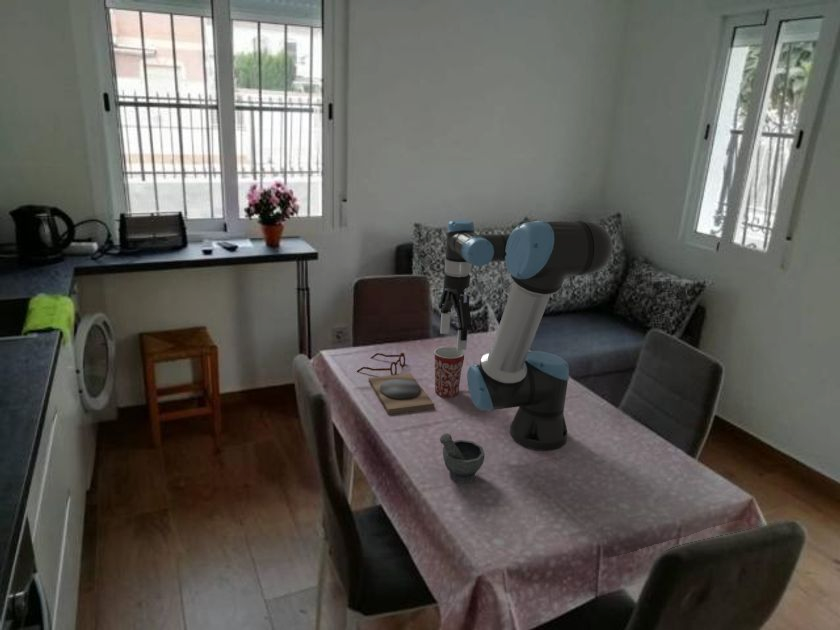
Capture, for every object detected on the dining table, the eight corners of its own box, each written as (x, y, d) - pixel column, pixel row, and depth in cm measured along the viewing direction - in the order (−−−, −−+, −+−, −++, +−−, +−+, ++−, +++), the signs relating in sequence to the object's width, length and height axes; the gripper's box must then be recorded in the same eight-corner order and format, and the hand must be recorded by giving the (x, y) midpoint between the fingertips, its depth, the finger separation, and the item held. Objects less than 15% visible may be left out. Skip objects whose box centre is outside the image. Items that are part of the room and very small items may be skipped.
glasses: (392, 379, 195) (393, 365, 193) (355, 373, 198) (355, 359, 197) (406, 364, 207) (406, 351, 205) (370, 358, 210) (370, 345, 209)
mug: (450, 401, 181) (453, 360, 176) (426, 392, 186) (428, 352, 181) (473, 388, 190) (476, 348, 186) (449, 380, 195) (452, 341, 191)
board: (433, 408, 176) (434, 400, 175) (387, 414, 172) (387, 406, 171) (410, 377, 196) (410, 370, 195) (368, 381, 191) (368, 374, 190)
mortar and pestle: (470, 461, 150) (473, 418, 146) (489, 482, 142) (493, 437, 138) (429, 470, 146) (432, 426, 142) (447, 492, 138) (450, 446, 134)
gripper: (487, 285, 166) (481, 356, 173) (453, 262, 188) (449, 325, 195) (462, 286, 164) (456, 358, 171) (430, 263, 186) (427, 327, 193)
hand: (452, 341), depth 183 cm, fingers open, 13 cm apart
